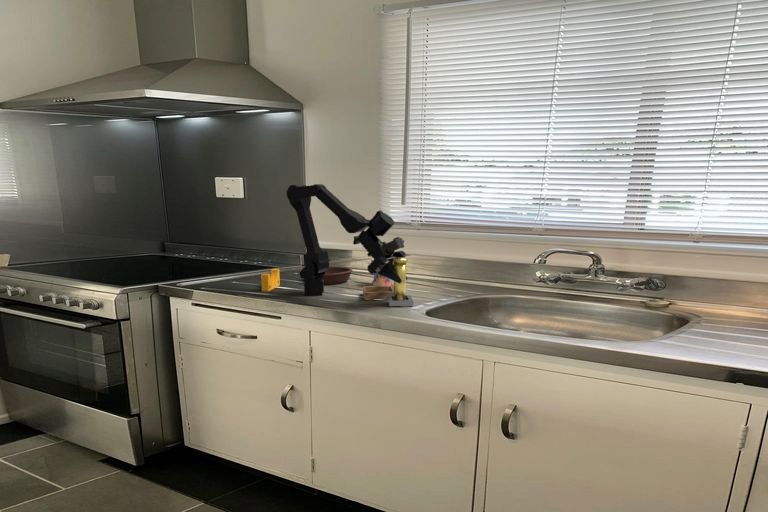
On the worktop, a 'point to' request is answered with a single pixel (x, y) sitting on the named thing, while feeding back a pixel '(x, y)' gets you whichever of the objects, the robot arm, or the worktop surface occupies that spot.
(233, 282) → the worktop surface
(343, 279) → the dish
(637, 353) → the worktop surface
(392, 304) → the block
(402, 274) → the pin
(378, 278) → the mug
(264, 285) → the pipe clamp
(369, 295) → the tray
